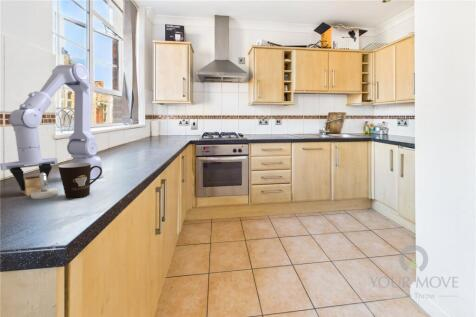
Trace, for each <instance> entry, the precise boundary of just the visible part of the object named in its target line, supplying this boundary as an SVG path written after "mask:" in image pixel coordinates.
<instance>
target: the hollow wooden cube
mask: <svg viewBox="0 0 476 317" xmlns="http://www.w3.org/2000/svg"><path fill="white" fill-rule="evenodd" d="M24 185H25V191H22V190H21V191H22V194H24V195H25V196H31V192H33V191H36V190H40V189H41V187H40V179H39V175H33V176H26V177H24Z"/></svg>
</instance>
